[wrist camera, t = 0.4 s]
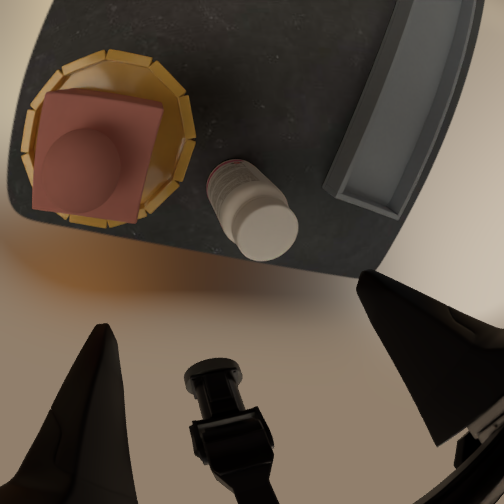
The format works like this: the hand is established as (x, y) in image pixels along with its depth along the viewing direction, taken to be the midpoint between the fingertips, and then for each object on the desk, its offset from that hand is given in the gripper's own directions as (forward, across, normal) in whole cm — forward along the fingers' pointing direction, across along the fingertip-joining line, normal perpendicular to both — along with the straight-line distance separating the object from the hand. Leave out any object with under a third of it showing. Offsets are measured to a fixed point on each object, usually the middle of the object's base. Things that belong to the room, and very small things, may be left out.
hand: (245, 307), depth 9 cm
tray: (+16, -23, -11) cm, 30 cm away
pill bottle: (+16, -4, +2) cm, 17 cm away
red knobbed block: (+7, +4, -4) cm, 9 cm away
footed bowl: (+16, +4, -4) cm, 17 cm away
